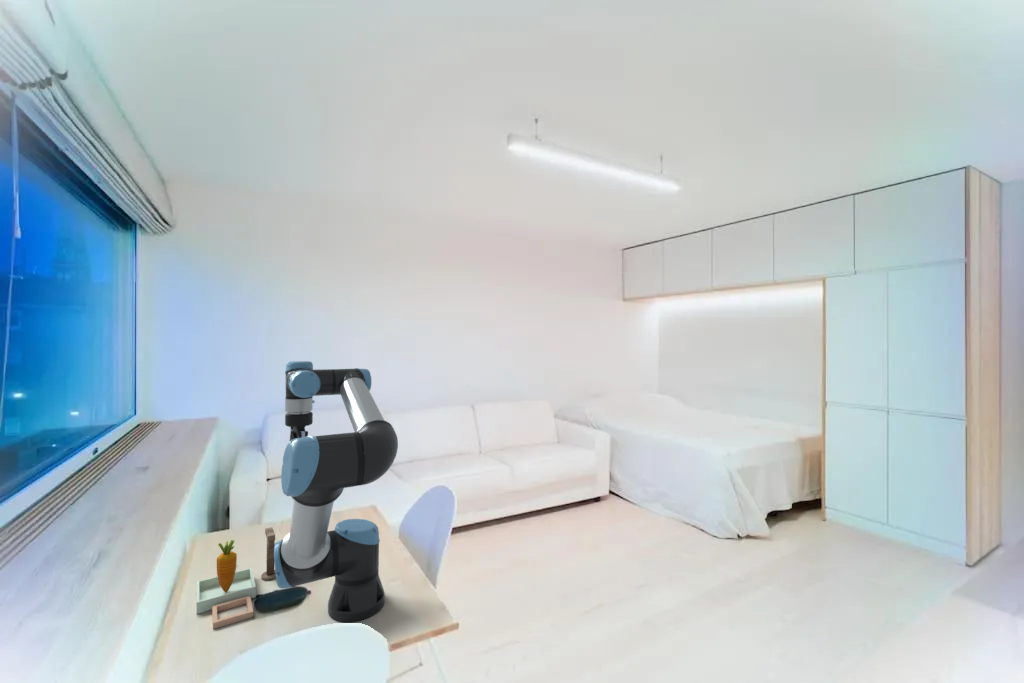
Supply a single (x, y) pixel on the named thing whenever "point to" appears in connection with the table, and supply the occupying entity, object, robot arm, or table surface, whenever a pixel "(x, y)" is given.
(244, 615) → the holder ring
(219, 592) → the tray
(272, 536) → the t stake
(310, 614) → the table surface
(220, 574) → the carrot
